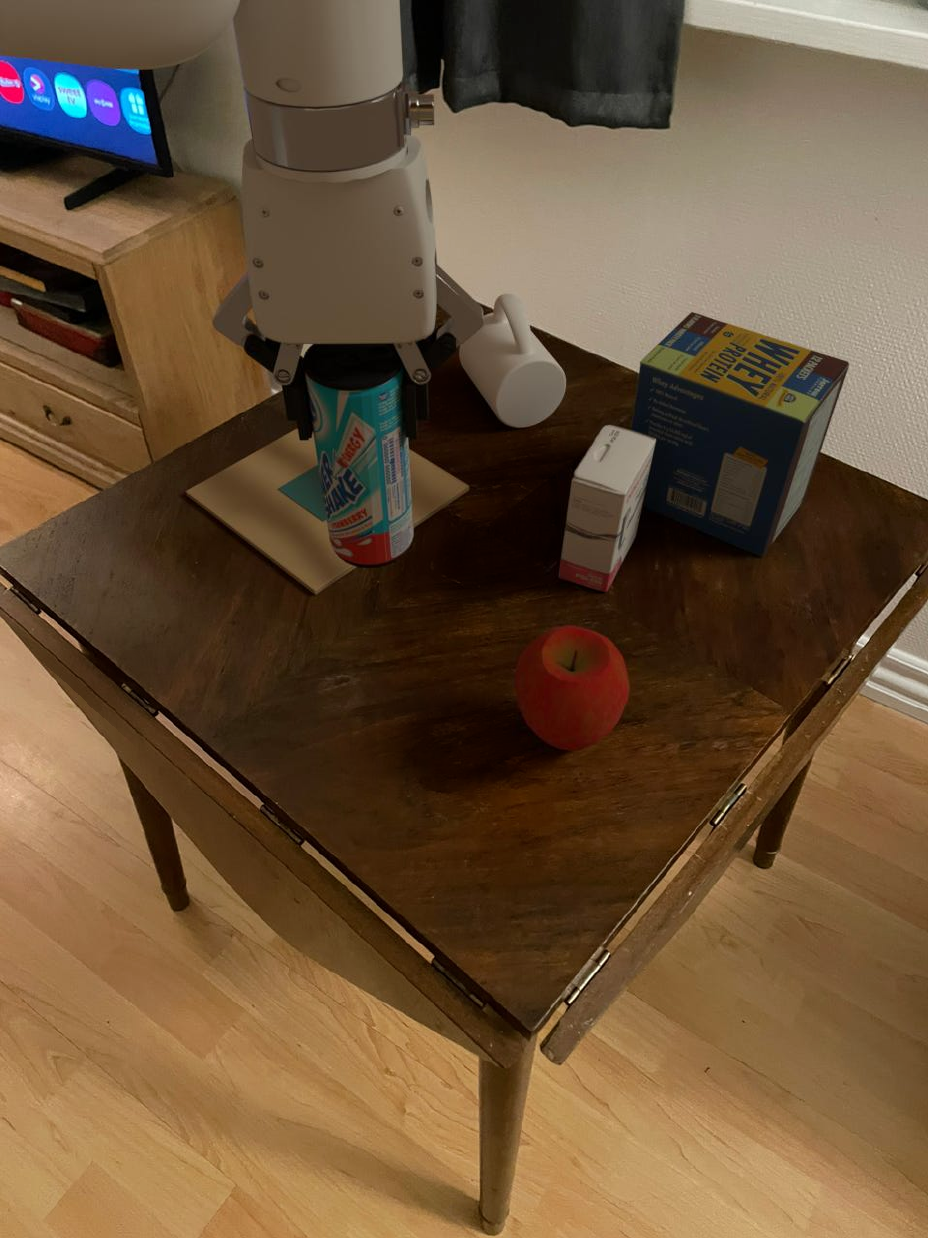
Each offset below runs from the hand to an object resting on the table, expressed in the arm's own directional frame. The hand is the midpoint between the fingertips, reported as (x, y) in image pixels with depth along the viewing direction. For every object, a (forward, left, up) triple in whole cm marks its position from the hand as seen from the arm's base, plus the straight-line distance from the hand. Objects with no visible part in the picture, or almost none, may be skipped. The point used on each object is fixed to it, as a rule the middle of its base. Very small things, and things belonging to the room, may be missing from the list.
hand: (360, 424), depth 58 cm
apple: (+14, -6, -26) cm, 30 cm away
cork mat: (-7, +24, -25) cm, 35 cm away
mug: (+12, +39, -26) cm, 48 cm away
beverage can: (0, 0, -10) cm, 10 cm away
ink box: (+19, +14, -26) cm, 35 cm away
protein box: (+31, +22, -26) cm, 46 cm away
